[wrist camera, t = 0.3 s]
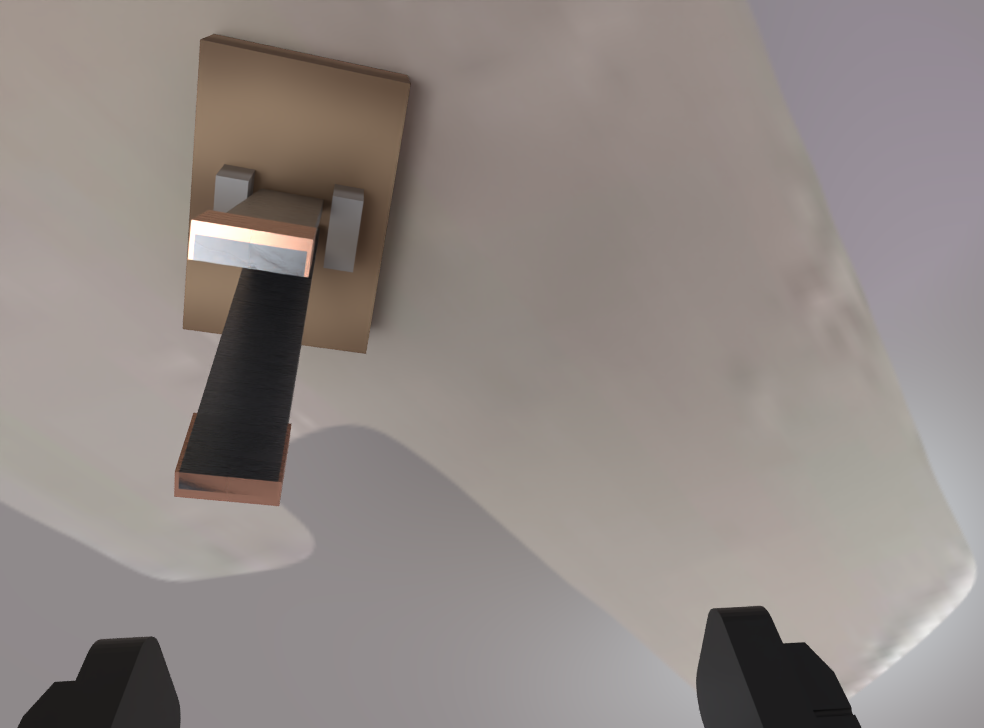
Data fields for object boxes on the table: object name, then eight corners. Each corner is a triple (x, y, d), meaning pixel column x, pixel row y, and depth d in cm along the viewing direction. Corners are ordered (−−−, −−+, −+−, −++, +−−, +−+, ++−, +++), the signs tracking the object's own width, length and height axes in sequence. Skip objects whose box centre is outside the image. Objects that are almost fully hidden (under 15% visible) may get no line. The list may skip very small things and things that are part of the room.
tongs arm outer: (255, 217, 33) (174, 471, 21) (322, 228, 33) (282, 482, 21) (254, 236, 33) (174, 496, 21) (320, 247, 34) (279, 505, 22)
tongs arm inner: (259, 180, 32) (191, 219, 18) (327, 192, 33) (312, 239, 19) (257, 202, 32) (188, 259, 18) (324, 214, 33) (308, 277, 19)
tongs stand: (213, 33, 33) (189, 43, 28) (407, 75, 34) (413, 90, 30) (195, 303, 38) (172, 348, 33) (365, 327, 39) (365, 373, 35)
